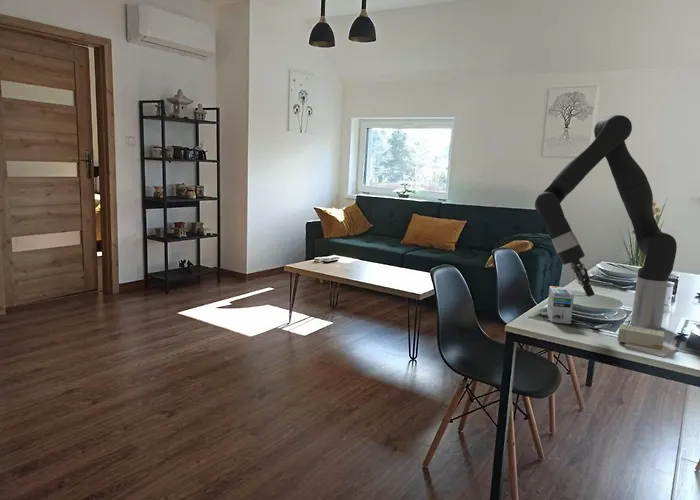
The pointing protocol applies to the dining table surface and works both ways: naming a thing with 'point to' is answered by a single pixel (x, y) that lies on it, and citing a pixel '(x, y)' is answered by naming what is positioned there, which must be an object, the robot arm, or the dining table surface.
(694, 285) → the dining table surface
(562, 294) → the light bulb box
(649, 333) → the skincare box
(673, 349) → the grey mat
